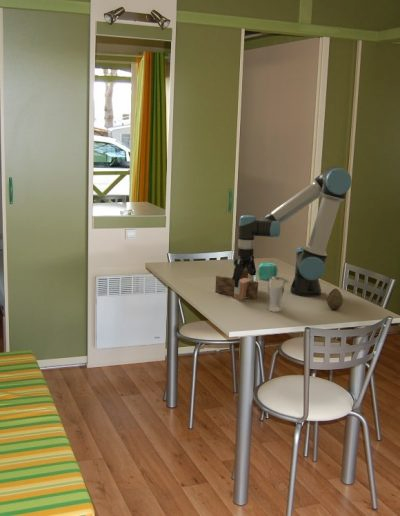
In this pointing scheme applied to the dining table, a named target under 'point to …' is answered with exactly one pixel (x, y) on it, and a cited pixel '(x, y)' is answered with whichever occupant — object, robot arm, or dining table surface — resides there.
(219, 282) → the slotted board
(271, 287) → the beer glass
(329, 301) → the decorative egg
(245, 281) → the notched block
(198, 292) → the dining table surface
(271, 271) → the decorative dice
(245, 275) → the coffee cup
